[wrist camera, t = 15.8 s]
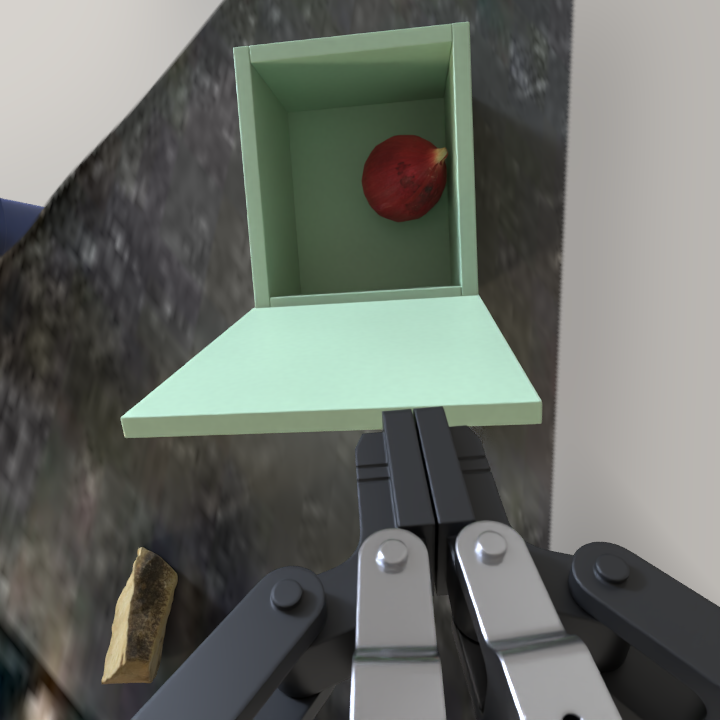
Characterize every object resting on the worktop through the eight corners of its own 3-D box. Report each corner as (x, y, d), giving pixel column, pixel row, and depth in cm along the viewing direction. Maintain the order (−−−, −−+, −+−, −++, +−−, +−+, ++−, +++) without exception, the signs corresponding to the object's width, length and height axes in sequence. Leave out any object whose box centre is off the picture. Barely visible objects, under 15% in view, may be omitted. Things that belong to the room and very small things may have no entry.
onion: (401, 242, 44) (474, 210, 37) (338, 222, 41) (405, 182, 34) (406, 173, 45) (478, 129, 38) (345, 148, 42) (411, 96, 35)
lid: (119, 417, 19) (124, 438, 19) (542, 401, 18) (542, 424, 18) (252, 308, 35) (254, 320, 35) (479, 295, 34) (479, 308, 34)
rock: (166, 709, 50) (224, 643, 47) (69, 742, 44) (129, 668, 41) (132, 602, 56) (181, 538, 53) (42, 617, 50) (92, 544, 47)
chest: (277, 104, 44) (232, 47, 33) (455, 87, 43) (469, 21, 32) (292, 306, 46) (255, 314, 36) (463, 296, 45) (478, 301, 34)
